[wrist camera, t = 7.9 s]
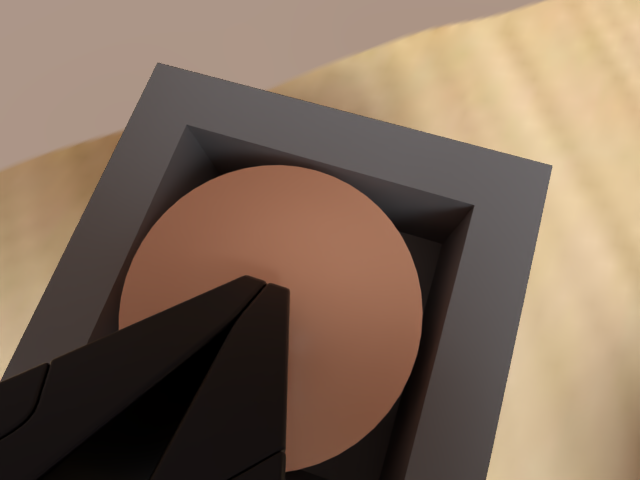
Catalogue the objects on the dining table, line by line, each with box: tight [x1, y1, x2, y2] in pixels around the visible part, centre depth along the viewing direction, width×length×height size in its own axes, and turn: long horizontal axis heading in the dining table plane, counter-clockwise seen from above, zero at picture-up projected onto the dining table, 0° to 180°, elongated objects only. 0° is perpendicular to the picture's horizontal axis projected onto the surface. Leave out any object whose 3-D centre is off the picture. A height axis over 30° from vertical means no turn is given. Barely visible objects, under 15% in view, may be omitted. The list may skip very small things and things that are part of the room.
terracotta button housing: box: [0, 63, 552, 480], centre depth 12 cm, size 9×9×8 cm
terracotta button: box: [119, 165, 423, 472], centre depth 9 cm, size 6×6×3 cm
